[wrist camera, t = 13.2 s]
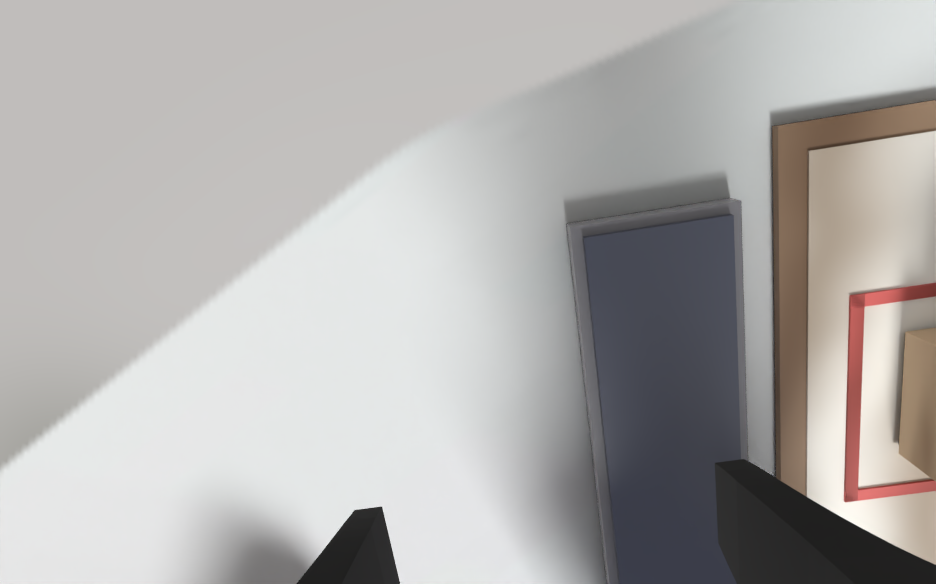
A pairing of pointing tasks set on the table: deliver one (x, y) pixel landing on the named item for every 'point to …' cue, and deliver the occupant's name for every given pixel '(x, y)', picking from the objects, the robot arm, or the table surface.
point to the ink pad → (662, 382)
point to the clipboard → (854, 311)
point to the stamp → (919, 401)
